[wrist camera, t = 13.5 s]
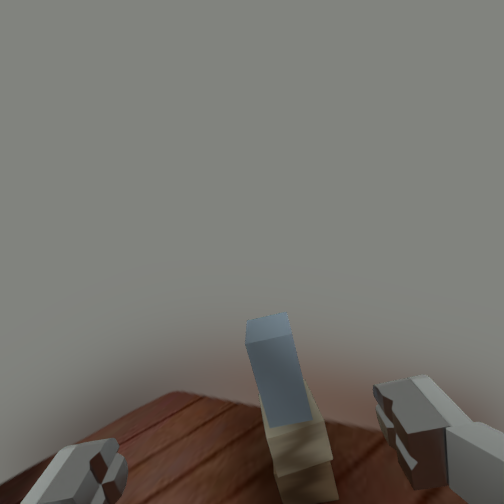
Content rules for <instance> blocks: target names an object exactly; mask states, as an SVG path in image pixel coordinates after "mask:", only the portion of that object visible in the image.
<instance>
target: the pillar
mask: <svg viewBox="0 0 504 504" xmlns="http://www.w3.org/2000/svg"><path fill="white" fill-rule="evenodd" d="M245 341H246V342H245V345H246V349H247V352H248V355H249V359H250V362H251V366H252V369H253V373H254V376H255V379H256V383H257V386H258V390H259V393H260V397H261V400H262V403H263V407H264V410H265V414H266V417H267V421H268V424H269V427H270V428H274V427H279V426H284V425H289V424H295V423H300V422H305V421H310V420H313V418H312V414H311V410H310V406H309V402H308V398H307V394H306V389H305V385H304V381H303V377H302V373H301V369H300V365H299V361H298V357H297V352H296V348H295V345H294V340H293V336H292V332H291V328H290V324H289V320H288V316H287V312H283V313H279V314H274V315H270V316H266V317H261V318H256V319H252V320H247V327H246V340H245Z"/></svg>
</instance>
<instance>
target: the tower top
mask: <svg viewBox="0 0 504 504" xmlns="http://www.w3.org/2000/svg"><path fill="white" fill-rule="evenodd" d="M303 381H304V385H305V389H306V394H307V398H308V402H309V406H310V410H311V414H312V418H313V420H310V421H305V422H300V423H295V424H289V425H284V426H279V427H274V428H270V427H269V424H268V421H267V417H266V414H265V410H264V407H263V403H262V400H261V397H260V394H258V395H259V401H260V406H261V412H262V417H263V422H264V428H265V433H266V439H267V442H268V446H269V449H270V452H271V456H272V459H273V462H274V466H275V469H276V472H277V476H278V478H279V477H282V476H285V475H288V474H291V473H294V472H297V471H300V470H303V469H306V468H309V467H312V466H315V465H318V464H321V463H324V462H327V461H329V460H332V459H333V456H332V452H331V448H330V443H329V439H328V435H327V431H326V426H325V422H324V419H323V417H322V415H321V413H320V411H319V408H318V406H317V405H316V402H315V400H314V398H313V396H312V394H311V392H310V389H309V387H308V385H307V383H306V381H305V380H303Z"/></svg>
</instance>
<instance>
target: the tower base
mask: <svg viewBox="0 0 504 504" xmlns="http://www.w3.org/2000/svg"><path fill="white" fill-rule="evenodd" d="M273 469H274V477H275V480H276V483H277V486H278V490H279V493H280V496H281V500H282V503H283V504H317V503H323V502H329V501H335V500H339V496H338V492H337V488H336V484H335V480H334V475H333V471H332V467H331V463H330V460H329V461H327V462H324V463H321V464H318V465H315V466H312V467H309V468H306V469H303V470H300V471H297V472H294V473H291V474H288V475H285V476H282V477H279V478H278V476H277V472H276V469H275V466H274V462H273Z"/></svg>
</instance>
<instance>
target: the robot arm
mask: <svg viewBox="0 0 504 504" xmlns="http://www.w3.org/2000/svg"><path fill="white" fill-rule="evenodd" d="M373 394H374V397H375V399H376V400H377V402H378V405H377V406H376V413H377V418H378V421H379V424H380V428H381V430H382V432H383V434H384V437H385V438H386V440H387V442H388V444H389V446H391V447H392V448H393V449H395V450H396V451H397V455H398V462H399V464H400V466H401V468H402V470H403V471H404V473H405V475H406V477H407V479H408V480H409V482H410V484H411V486H412V488H413V489H414V490H421V489H428V488H435V487H442V486H449V488H450V489H452V490H453V491H454V492H455V493H457V494H458V495H459V496H460V497H461V498H463V499H464V500H465V501H466V502H468V503H469V504H504V433H502V432H500V431H498V430H496V429H494V428H492V427H490V426H488V425H486V424H484V423H482V422H473V421H472V420H471V419H470V418H469V417H468V416H467V415H466V414H465V413H464V412H463V411H462V410H461V409H460V408H459V407H458V406H457V405H456V404H455V403H454V402H453V401H452V400H451V399H450V398H449V397H448V396H447V395H446V394H445V393H444V392H443V391H442V390H441V389H440V387H438V385H437V384H436V383H435V382H434V381H433V380H432V379H431V378H430V377H429V376H427V375H425V374H423V375H418V376H413V377H409V378H404V379H399V380H395V381H390V382H385V383H380V384H376V385H373ZM118 449H119V445H118V443H117V441H116V439H115V438H109V439H103V440H97V441H91V442H85V443H81V444H75V445H69V446H66V447H64V448H63V449H61V450H60V451H59V452H58V453H57V455H56V456H55V458H54V459H53V460H52V462H51V463H50V464H49V466H48V467H47V468H46V470H45V471H44V472H43V474H42V475H41V476H40V478H39V479H38V480H37V482H36V483H35V485H34V486H33V487H32V489H31V490H30V491H29V493H28V494H27V495H26V497H25V498H24V499H23V501H22V502H21V503H20V504H115V503H116V502H117V501H118V500H119V498H120V497H121V496H122V494H123V491H124V489H125V486H126V482H127V476H128V467H127V462H126V460H125V458H124V457H123V456H122V455H120V454H118V453H117V452H118Z"/></svg>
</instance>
